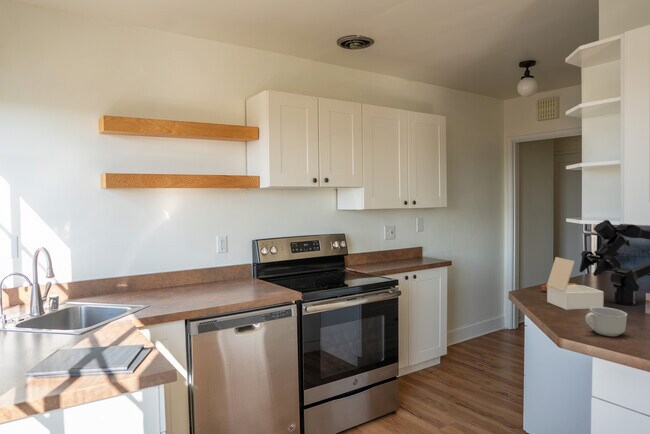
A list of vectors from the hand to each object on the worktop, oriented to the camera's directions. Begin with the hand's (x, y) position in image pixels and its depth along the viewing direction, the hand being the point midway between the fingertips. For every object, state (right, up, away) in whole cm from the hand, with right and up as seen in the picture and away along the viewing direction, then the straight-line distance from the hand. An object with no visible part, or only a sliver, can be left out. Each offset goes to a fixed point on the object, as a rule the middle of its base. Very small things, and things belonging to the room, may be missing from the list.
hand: (587, 273), depth 193 cm
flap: (-12, 0, -1) cm, 12 cm away
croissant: (+3, -13, +23) cm, 27 cm away
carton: (-5, -14, 0) cm, 15 cm away
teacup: (-18, -16, -41) cm, 47 cm away
